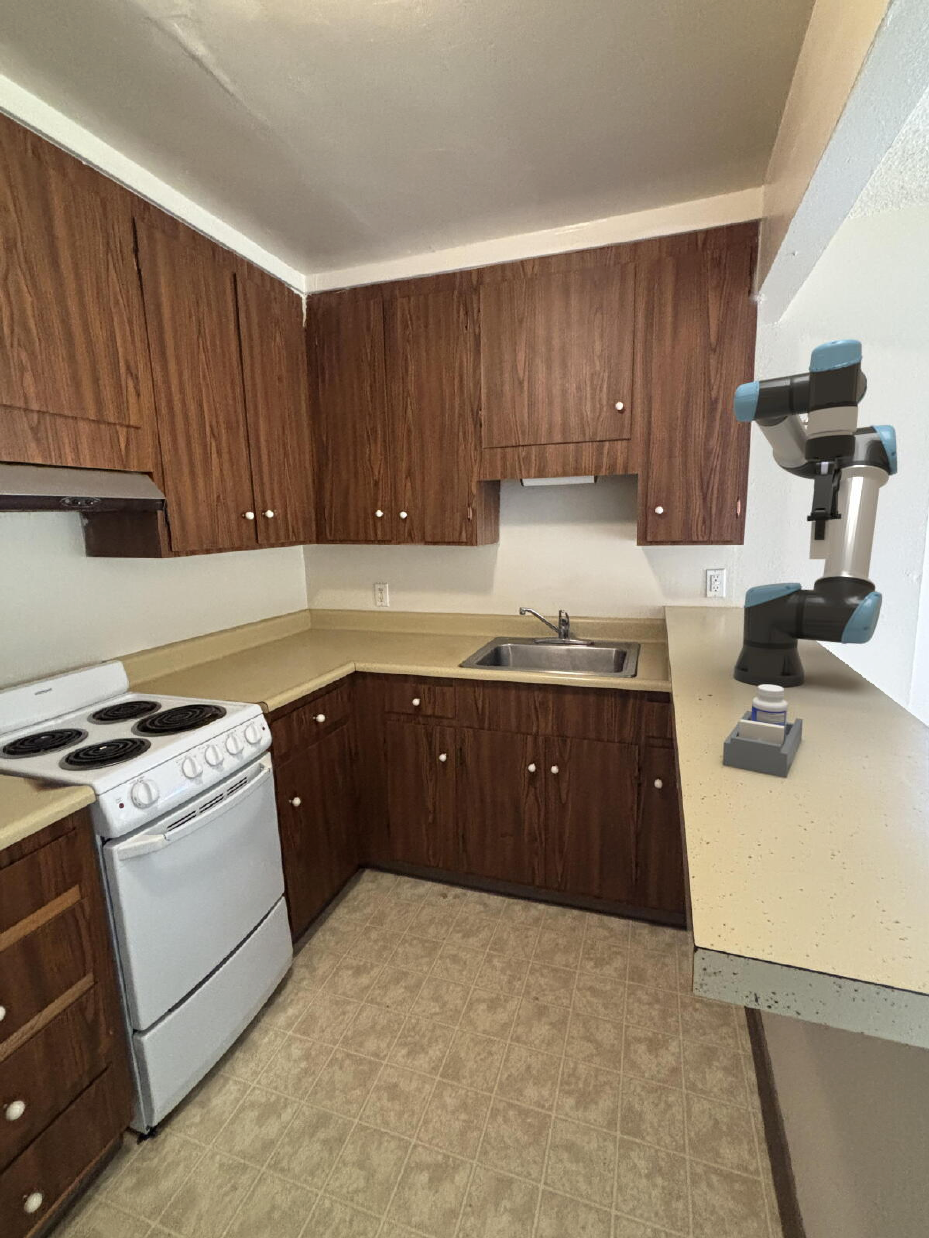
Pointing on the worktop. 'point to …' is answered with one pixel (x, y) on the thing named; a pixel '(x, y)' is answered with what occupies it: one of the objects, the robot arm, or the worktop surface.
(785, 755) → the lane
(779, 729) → the pusher
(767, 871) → the worktop surface
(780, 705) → the pill bottle
